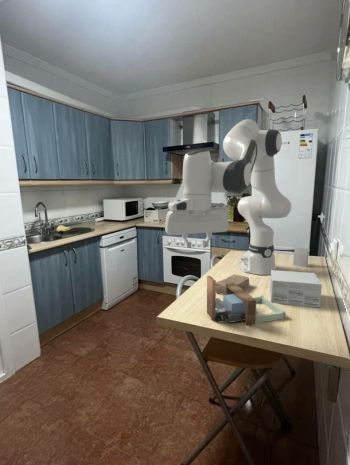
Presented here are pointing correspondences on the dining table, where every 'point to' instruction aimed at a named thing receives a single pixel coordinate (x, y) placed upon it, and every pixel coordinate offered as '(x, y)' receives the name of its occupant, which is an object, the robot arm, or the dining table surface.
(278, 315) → the green hollow frame
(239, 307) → the block
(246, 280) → the brick
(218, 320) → the dark grey flat block
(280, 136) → the robot arm
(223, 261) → the dining table surface
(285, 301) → the supplement box
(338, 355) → the dining table surface
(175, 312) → the dining table surface
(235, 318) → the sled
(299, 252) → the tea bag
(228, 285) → the tunnel
